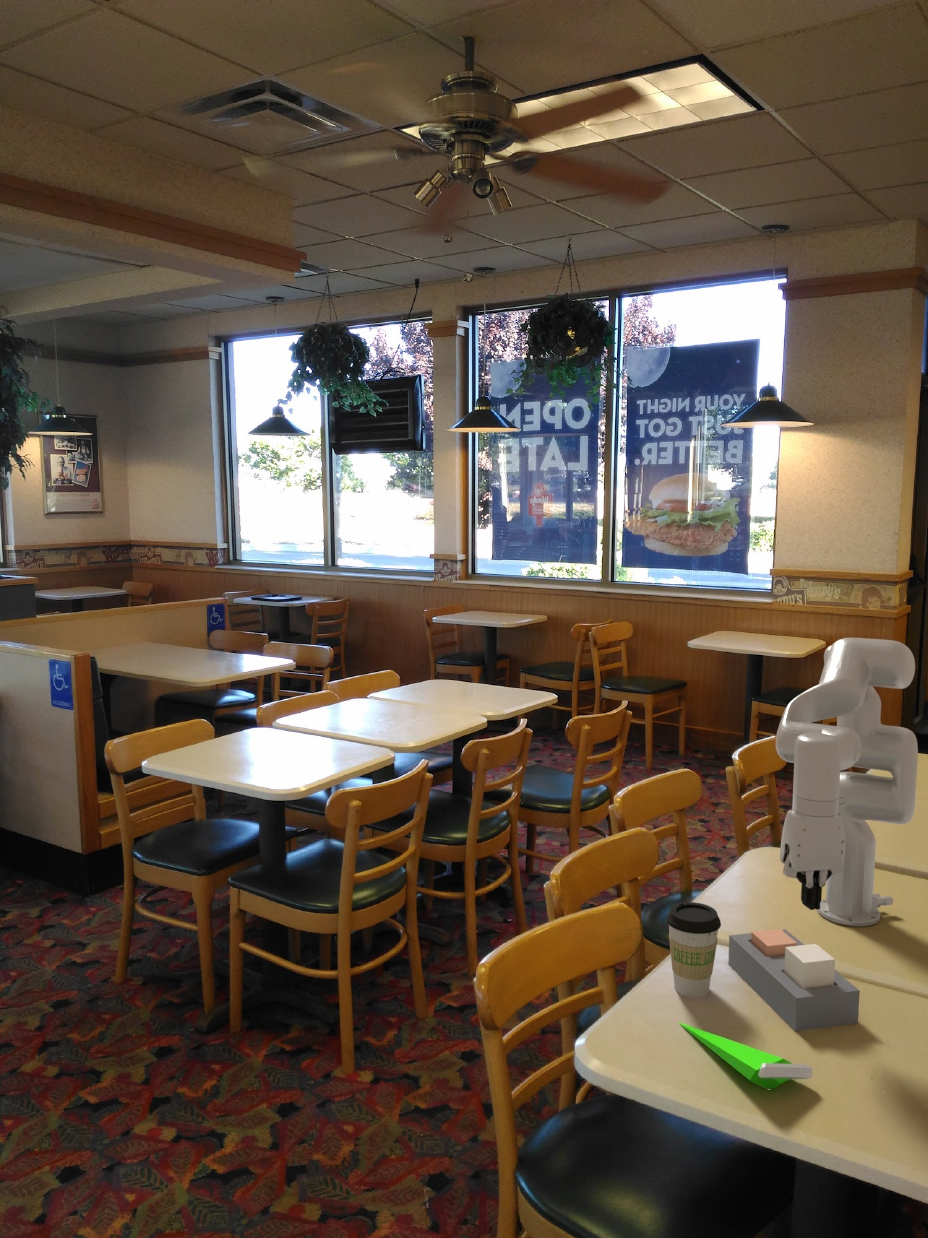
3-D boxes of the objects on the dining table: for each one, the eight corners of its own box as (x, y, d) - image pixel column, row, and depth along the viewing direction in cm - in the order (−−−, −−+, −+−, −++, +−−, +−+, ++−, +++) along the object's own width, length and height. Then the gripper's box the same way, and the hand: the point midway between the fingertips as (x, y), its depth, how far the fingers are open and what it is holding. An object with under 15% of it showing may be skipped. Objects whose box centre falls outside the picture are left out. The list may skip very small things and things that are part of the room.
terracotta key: (778, 958, 185) (780, 929, 185) (795, 973, 179) (796, 943, 179) (750, 961, 184) (751, 932, 183) (766, 976, 178) (767, 946, 177)
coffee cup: (688, 1008, 171) (690, 928, 169) (653, 983, 180) (655, 907, 178) (730, 994, 175) (732, 916, 174) (694, 971, 184) (696, 896, 182)
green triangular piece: (648, 1042, 164) (758, 1098, 142) (653, 1009, 165) (763, 1060, 143) (696, 1044, 169) (810, 1099, 147) (701, 1012, 170) (815, 1062, 148)
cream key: (814, 975, 173) (815, 943, 173) (833, 992, 167) (835, 959, 167) (784, 978, 172) (785, 947, 171) (802, 995, 166) (803, 963, 165)
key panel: (784, 958, 189) (785, 929, 188) (858, 1023, 166) (859, 990, 165) (728, 964, 187) (729, 935, 186) (795, 1031, 163) (796, 998, 163)
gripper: (841, 796, 171) (836, 894, 173) (764, 801, 168) (760, 901, 170) (867, 809, 164) (861, 912, 166) (787, 815, 161) (783, 919, 163)
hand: (810, 906), depth 168 cm, fingers closed
